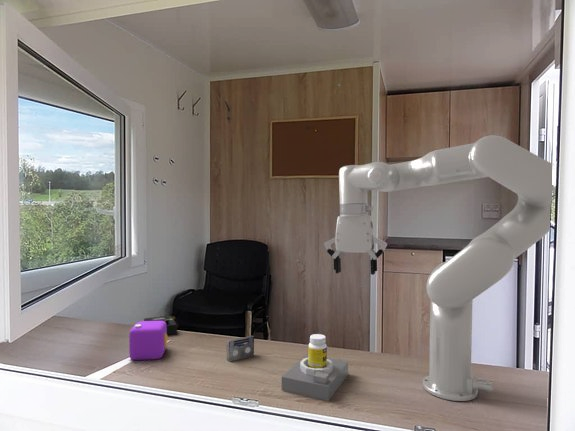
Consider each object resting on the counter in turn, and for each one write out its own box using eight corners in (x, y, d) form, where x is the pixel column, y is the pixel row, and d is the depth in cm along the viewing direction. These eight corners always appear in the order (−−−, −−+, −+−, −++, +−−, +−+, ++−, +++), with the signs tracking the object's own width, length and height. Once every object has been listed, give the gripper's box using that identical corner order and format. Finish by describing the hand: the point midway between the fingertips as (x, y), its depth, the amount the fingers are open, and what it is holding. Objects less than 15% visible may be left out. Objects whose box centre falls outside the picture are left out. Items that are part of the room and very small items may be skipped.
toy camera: (167, 343, 127) (167, 313, 126) (168, 359, 114) (168, 325, 114) (131, 347, 123) (131, 316, 123) (128, 364, 110) (128, 329, 110)
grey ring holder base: (348, 374, 104) (348, 356, 104) (328, 401, 90) (328, 380, 90) (306, 366, 109) (306, 348, 109) (281, 390, 95) (281, 370, 95)
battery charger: (143, 329, 143) (143, 318, 143) (170, 325, 147) (170, 315, 147) (148, 340, 131) (148, 328, 131) (177, 335, 135) (177, 324, 135)
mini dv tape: (251, 354, 118) (251, 335, 118) (253, 356, 117) (254, 336, 117) (226, 360, 113) (226, 340, 113) (228, 362, 112) (228, 341, 112)
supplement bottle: (325, 373, 96) (325, 340, 96) (306, 372, 97) (307, 338, 97) (327, 366, 101) (327, 334, 101) (309, 364, 102) (309, 332, 102)
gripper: (388, 209, 106) (389, 272, 106) (327, 211, 113) (328, 270, 113) (383, 210, 99) (385, 276, 100) (319, 211, 106) (321, 274, 106)
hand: (355, 273), depth 106 cm, fingers open, 9 cm apart
